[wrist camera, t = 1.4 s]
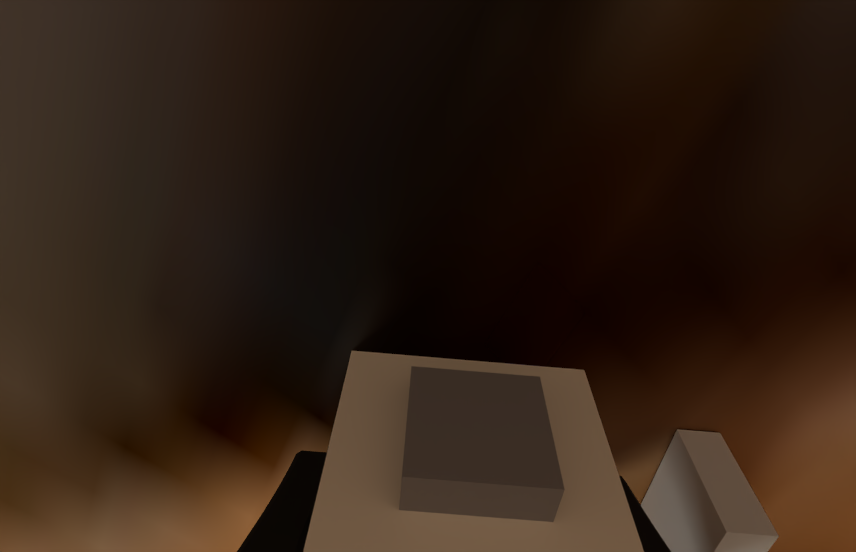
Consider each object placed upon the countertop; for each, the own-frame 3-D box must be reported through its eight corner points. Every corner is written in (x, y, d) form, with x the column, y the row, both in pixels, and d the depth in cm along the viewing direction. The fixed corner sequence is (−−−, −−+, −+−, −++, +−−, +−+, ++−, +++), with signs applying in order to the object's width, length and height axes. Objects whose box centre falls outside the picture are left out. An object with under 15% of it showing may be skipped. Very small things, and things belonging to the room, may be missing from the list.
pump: (538, 508, 14) (592, 831, 9) (351, 493, 14) (295, 811, 9) (592, 338, 11) (722, 682, 6) (352, 318, 11) (266, 649, 6)
